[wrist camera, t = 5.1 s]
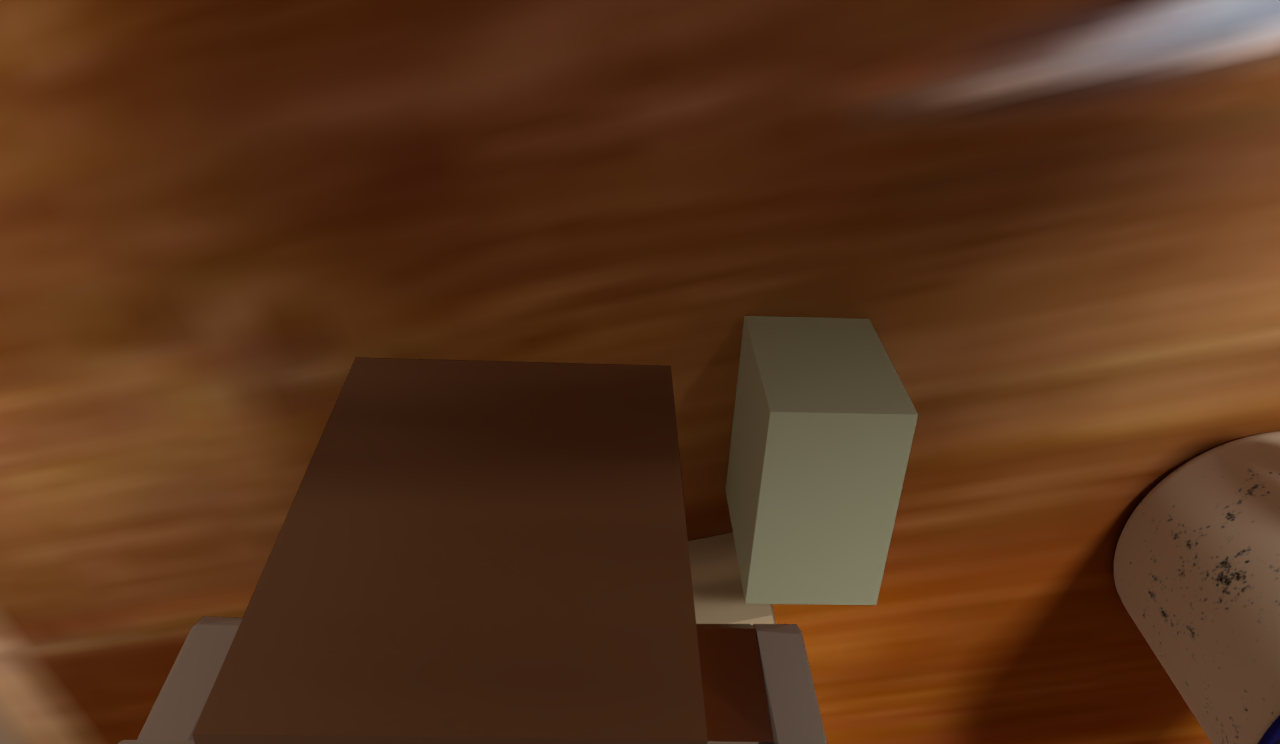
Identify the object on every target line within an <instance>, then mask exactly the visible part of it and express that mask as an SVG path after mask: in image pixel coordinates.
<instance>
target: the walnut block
mask: <svg viewBox="0 0 1280 744" xmlns="http://www.w3.org/2000/svg"><path fill="white" fill-rule="evenodd" d="M192 735H193V739H194V742H195V744H707V740H708V738H707V728H706V718H705V708H704V698H703V688H702V678H701V667H700V657H699V647H698V637H697V627H696V617H695V607H694V597H693V587H692V577H691V566H690V556H689V546H688V536H687V526H686V516H685V506H684V496H683V486H682V476H681V466H680V455H679V445H678V435H677V425H676V415H675V405H674V395H673V385H672V375H671V366H658V365H621V364H583V363H545V362H508V361H470V360H432V359H394V358H357V357H356V358H355V360H354V363H353V365H352V367H351V370H350V372H349V374H348V376H347V379H346V381H345V383H344V386H343V388H342V390H341V393H340V395H339V397H338V400H337V402H336V404H335V406H334V409H333V411H332V413H331V416H330V418H329V420H328V423H327V425H326V427H325V429H324V432H323V434H322V436H321V439H320V441H319V443H318V446H317V448H316V450H315V453H314V455H313V457H312V459H311V462H310V464H309V466H308V469H307V471H306V473H305V476H304V478H303V480H302V483H301V485H300V487H299V489H298V492H297V494H296V496H295V499H294V501H293V503H292V506H291V508H290V510H289V512H288V515H287V517H286V519H285V522H284V524H283V526H282V529H281V531H280V533H279V536H278V538H277V540H276V542H275V545H274V547H273V549H272V552H271V554H270V556H269V559H268V561H267V563H266V566H265V568H264V570H263V572H262V575H261V577H260V579H259V582H258V584H257V586H256V589H255V591H254V593H253V595H252V598H251V600H250V602H249V605H248V607H247V609H246V612H245V614H244V616H243V619H242V621H241V623H240V625H239V628H238V630H237V632H236V635H235V637H234V639H233V642H232V644H231V646H230V648H229V651H228V653H227V655H226V658H225V660H224V662H223V665H222V667H221V669H220V672H219V674H218V676H217V678H216V681H215V683H214V685H213V688H212V690H211V692H210V695H209V697H208V699H207V702H206V704H205V706H204V708H203V711H202V713H201V715H200V718H199V720H198V722H197V725H196V727H195V729H194V731H193V734H192Z"/></svg>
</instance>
